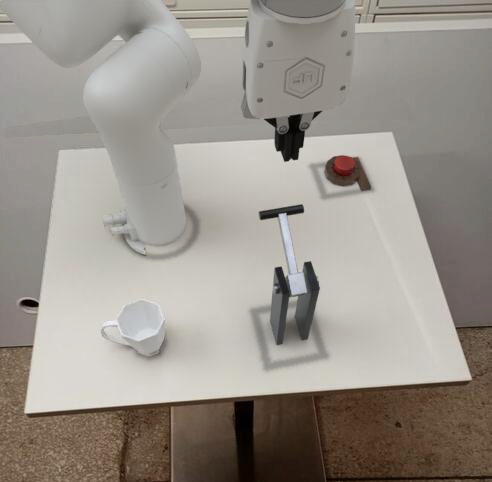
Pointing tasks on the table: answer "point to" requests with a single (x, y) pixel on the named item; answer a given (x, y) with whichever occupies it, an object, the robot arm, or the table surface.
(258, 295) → the table surface
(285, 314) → the bracket
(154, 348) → the cup
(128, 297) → the table surface
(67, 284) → the table surface
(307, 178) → the table surface
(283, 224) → the lever
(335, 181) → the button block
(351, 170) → the button
